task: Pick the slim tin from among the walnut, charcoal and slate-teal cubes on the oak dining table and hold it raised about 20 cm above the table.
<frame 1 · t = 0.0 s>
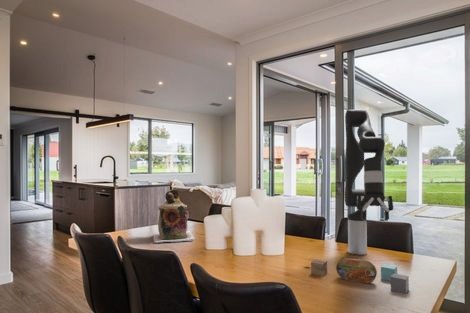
hand: (375, 220, 138), 22 cm above the table, tool pointing down, fingers open, 8 cm apart
cookie jar: (173, 239, 207), on the table
walnut cube: (319, 273, 139), on the table
tin: (356, 281, 130), on the table
charcoal cube: (399, 290, 120), on the table
slate-teal cube: (389, 279, 132), on the table
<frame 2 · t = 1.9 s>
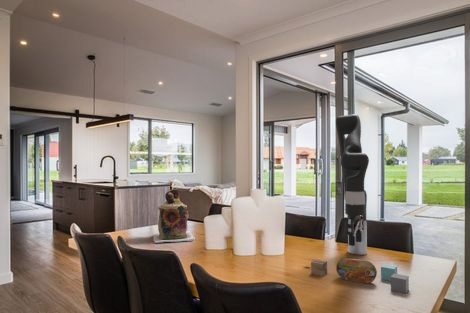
hand: (355, 243, 131), 14 cm above the table, tool pointing down, fingers open, 8 cm apart
nothing on the table moved.
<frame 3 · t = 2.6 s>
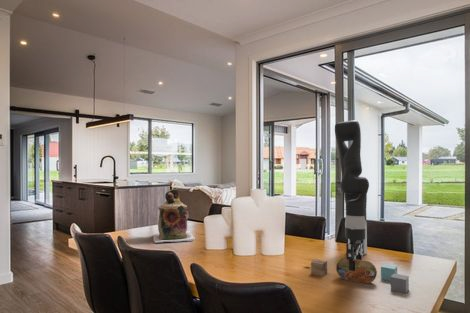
hand: (355, 267, 130), 5 cm above the table, tool pointing down, fingers open, 8 cm apart
nothing on the table moved.
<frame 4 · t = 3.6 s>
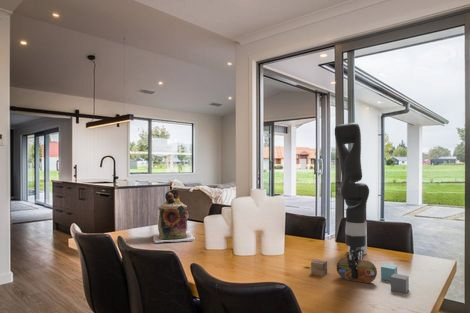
hand: (355, 277, 130), 1 cm above the table, tool pointing down, fingers closed on tin, 2 cm apart
tin: (356, 280, 130), on the table, touching gripper
everything else where it was.
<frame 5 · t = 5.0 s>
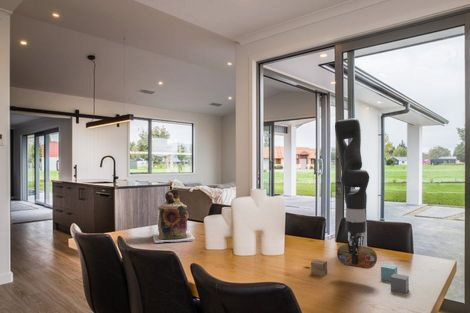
hand: (356, 263, 131), 7 cm above the table, tool pointing down, fingers closed on tin, 2 cm apart
tin: (357, 266, 131), point 5 cm above the table, touching gripper
everything else where it was.
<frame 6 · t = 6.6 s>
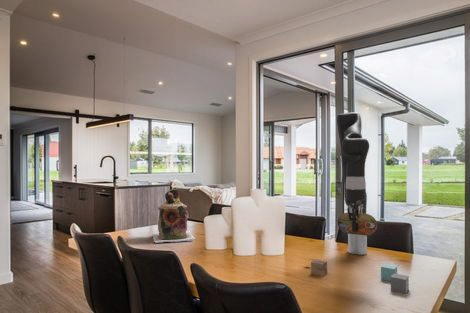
hand: (356, 230, 132), 19 cm above the table, tool pointing down, fingers closed on tin, 2 cm apart
tin: (357, 234, 132), point 18 cm above the table, touching gripper
everything else where it was.
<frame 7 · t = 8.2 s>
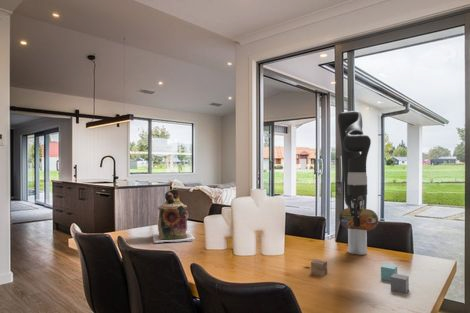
hand: (357, 225, 134), 21 cm above the table, tool pointing down, fingers closed on tin, 2 cm apart
tin: (358, 229, 134), point 19 cm above the table, touching gripper
everything else where it was.
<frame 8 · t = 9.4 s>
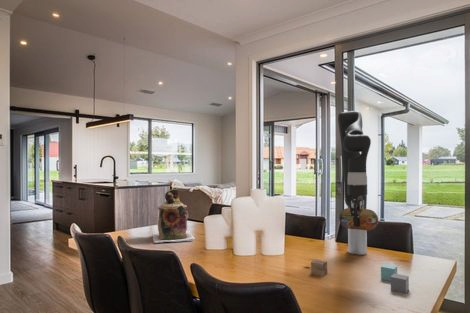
hand: (357, 225, 134), 21 cm above the table, tool pointing down, fingers closed on tin, 2 cm apart
tin: (358, 229, 134), point 19 cm above the table, touching gripper
everything else where it was.
at the end: the gripper is holding tin; tin point 19.5 cm above the table; slate-teal cube moved 0.1 cm from its start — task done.
